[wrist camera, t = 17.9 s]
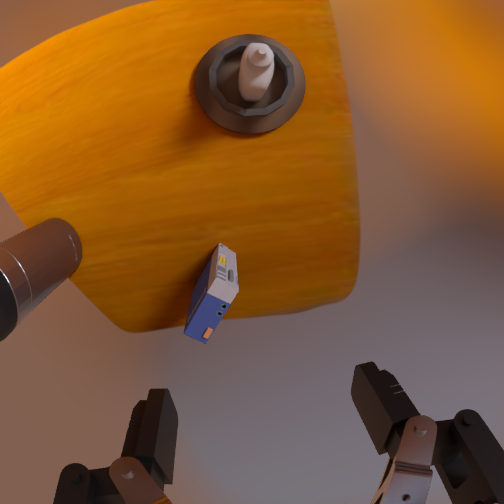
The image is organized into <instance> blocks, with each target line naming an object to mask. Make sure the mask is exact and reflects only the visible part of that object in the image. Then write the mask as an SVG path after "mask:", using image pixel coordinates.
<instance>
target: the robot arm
mask: <svg viewBox="0 0 504 504" xmlns="http://www.w3.org/2000/svg"><path fill="white" fill-rule="evenodd" d="M81 258H82V248H81V243H80V240H79V237H78V235H77V233H76V232H75V230H74V229H73V227H72V226H70V225H69V224H68V223H67V222H65V221H64V220H61V219H57V218H52V219H48V220H46V221H44V222H42V223H40V224H37V225H35V226H33V227H31V228H29V229H27V230H25V231H23V232H21V233H19V234H17V235H15V236H13V237H11V238H9V239H7V240H5V241H3V242H1V243H0V341H2V340H4V339H5V338H6V337H7V336H8V335H9V334H10V333H11V332H12V331H13V330H14V329H15V328H16V326H18V325H19V323H20V322H21V321H22V320H23V319H24V318H25V317H26V316H27V315H28V314H29V313H30V312H31V311H32V310H33V309H34V308H35V307H36V306H37V305H38V304H40V303H41V302H42V301H43V300H44V299H45V298H46V297H47V296H48V295H49V294H50V293H51V292H52V291H53V290H54V289H55V288H56V287H58V286H59V285H60V284H61V283H62V282H63V281H64V280H65V279H67V278H68V277H69V276H70V275H71V274H72V273H73V272H74V271H75V270H76V269H77V268H78V266H79V264H80V262H81ZM351 395H352V399H353V402H354V404H355V406H356V408H357V410H358V412H359V414H360V416H361V419H362V420H363V423H364V425H365V427H366V429H367V431H368V433H369V435H370V437H371V439H372V441H373V443H374V445H375V448H376V450H377V452H378V454H379V455H380V454H383V453H386V452H388V454H389V459H388V462H387V465H386V468H385V471H384V473H383V476H382V479H381V481H380V484H379V487H378V489H377V491H376V494H375V496H374V498H373V500H372V501H371V504H425V502H426V499H427V495H428V491H429V488H430V484H431V479H432V474H433V471H432V470H430V466H431V465H435V468H436V470H437V472H438V474H439V476H440V478H441V480H442V482H443V484H444V486H445V488H446V490H447V492H448V495H449V497H450V499H451V501H452V504H504V450H503V449H502V447H501V446H500V444H499V443H498V441H497V440H496V438H495V437H494V435H493V434H492V432H491V431H490V430H489V428H488V426H487V425H486V424H485V422H484V421H483V419H482V418H481V416H480V415H479V414H478V413H477V412H475V411H473V410H470V409H465V410H461V411H459V412H458V413H457V414H456V416H455V417H454V419H451V420H444V421H434V420H433V419H431V418H430V417H428V416H425V415H420V413H419V412H418V411H417V409H416V408H415V406H414V405H413V403H412V402H411V400H410V399H409V397H408V396H407V394H406V393H405V392H404V391H403V388H402V387H401V385H399V383H398V381H397V380H396V378H395V377H394V375H392V374H391V373H389V372H388V371H386V370H382V371H379V369H378V368H377V366H376V364H375V363H374V362H367V363H363V364H359V365H356V367H355V370H354V376H353V382H352V387H351ZM177 428H178V415H177V411H176V408H175V406H174V403H173V400H172V398H171V395H170V392H169V390H168V389H150V390H149V394H148V398H147V400H140V401H139V402H138V403H137V405H136V406H135V407H134V408H133V412H132V415H131V420H130V423H129V428H128V430H127V434H126V439H125V442H124V446H123V451H122V454H121V457H120V458H118V459H116V460H115V461H114V462H113V463H112V464H111V465H110V467H107V468H100V469H93V470H88V469H87V468H86V467H85V466H83V465H82V464H78V463H73V464H70V465H68V466H66V467H65V468H64V469H63V470H62V472H61V474H60V478H59V482H58V486H57V490H56V494H55V498H54V502H53V504H172V502H171V501H170V500H169V499H168V498H167V496H166V495H165V494H164V493H163V491H164V484H172V481H173V470H174V458H175V447H176V438H177Z"/></svg>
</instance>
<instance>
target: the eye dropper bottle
mask: <svg viewBox="0 0 504 504" xmlns="http://www.w3.org/2000/svg"><path fill="white" fill-rule="evenodd" d="M273 72H274V54H273V52H272V51H271V49H270V48H269V46H268V45H267V44H263V43H250V44H249V45H248V46H247V47H246V49H245V51H244V53H243V55H242V59H241V64H240V71H239V79H238V86H239V91H240V95H241V97H242V99H243V100H244V101H252V102H257V101H260V100H261V98H262V96H263V95H264V93H265V91H266V90H267V88H268V86H269V84H270V82H271V79H272V76H273Z"/></svg>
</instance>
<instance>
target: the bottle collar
mask: <svg viewBox="0 0 504 504" xmlns="http://www.w3.org/2000/svg"><path fill="white" fill-rule="evenodd" d="M250 43H263V44H267V45H268V46H269V48H270V49H271V51H272V52H273V54H274V72H273V76H272V79H271V82H270V84H269V86H268V88H267V90H266V91H265V93H264V95H263V96H262V98H261V100H260V101H257V102H252V101H244V100H243V99H242V97H241V95H240V91H239V86H238V79H239V71H240V64H241V59H242V55H243V53H244V51H245V49H246V47H247V46H248V45H249V44H250ZM195 91H196V95H197V99H198V101H199V103H200V105H201V107H202V108H203V110H204V112H205V113H206V114H207V115H208V116H209V117H210V118H211V119H212V120H213V121H214V122H216V123H217V124H218V125H220V126H222V127H224V128H226V129H228V130H231V131H234V132H238V133H245V134H256V133H263V132H267V131H270V130H273V129H275V128H277V127H279V126H281V125H282V124H284V123H285V122H287V121H288V120H289V119H290V118H291V117H292V116H293V115H294V114H295V113H296V111H297V110H298V108H299V107H300V105H301V103H302V100H303V97H304V94H305V76H304V72H303V69H302V67H301V64H300V62H299V61H298V59H297V58H296V56H295V55H294V54H293V53H292V52H291V51H290V50H289V49H288V48H287V47H286V46H284V45H283V44H281V43H280V42H278V41H276V40H274V39H271V38H269V37H265V36H261V35H254V34H245V35H238V36H233V37H230V38H227V39H225V40H223V41H221V42H219V43H218V44H216V45H215V46H213V47H212V48H211V49H210V50H209V51H208V52H207V53H206V54H205V55H204V57H203V58H202V60H201V61H200V63H199V65H198V68H197V71H196V76H195Z"/></svg>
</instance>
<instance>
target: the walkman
mask: <svg viewBox="0 0 504 504" xmlns="http://www.w3.org/2000/svg"><path fill="white" fill-rule="evenodd" d="M238 291H239V288H238V276H237V264H236V253H234V252H233V251H231V250H229V249H228V247H226V246H224V245H222V244H220V243H219V244H218V246H217V248H216V249H215V251H214V253H213V255H212V256H211V258H210V260H209V262H208V264H207V265H206V267H205V269H204V271H203V272H202V274H201V276H200V278H199V280H198V281H197V283H196V285H195V287H194V289H193V294H192V298H191V302H190V307H189V311H188V316H187V320H186V325H185V329H184V334H185V335H187V336H189V337H191V338H194V339H196V340H198V341H200V342H203V343H205V344H206V342H207V341H208V339H209V338H210V336H211V335H212V333H213V331H214V330H215V328H216V326H217V325H218V323H219V322H220V320H221V319H222V317H223V316H224V314H225V312H226V311H227V309H228V308H229V306H230V304H231V302H232V301H233V299H234V297H235V296H236V294H237V293H238Z"/></svg>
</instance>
